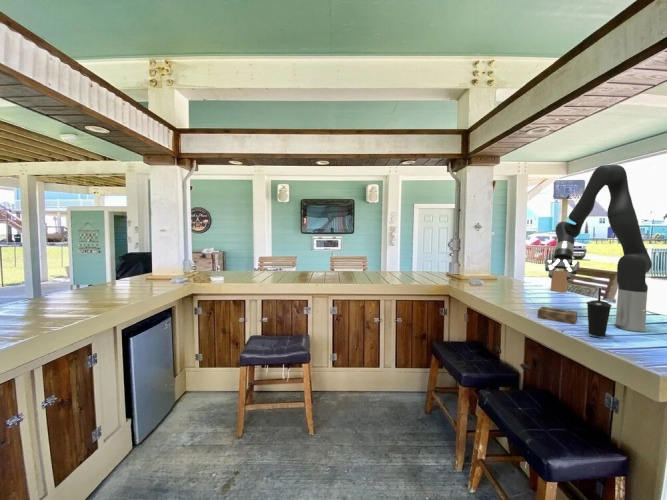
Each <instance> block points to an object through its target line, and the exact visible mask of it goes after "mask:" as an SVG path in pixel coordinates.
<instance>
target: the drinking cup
mask: <svg viewBox="0 0 667 500" xmlns="http://www.w3.org/2000/svg"><path fill="white" fill-rule="evenodd" d="M597 296H598V297H597V300H596V299H595V300H594V299H593V300H589V301H586V304H587V306H586V307H587V322H588V323H587V325H588V326H587V327H588V334H589V337H591V338H594V339H598V340H604V339H605V338H604V337H605V336H606V333H607V327H608V322H609V317H610V312H611V308H612V306H613V305H612V304H611V303H608V302H607V301H605V300H601V296H602V287H598V295H597Z"/></svg>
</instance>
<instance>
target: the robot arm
mask: <svg viewBox="0 0 667 500" xmlns="http://www.w3.org/2000/svg"><path fill="white" fill-rule="evenodd" d="M604 187H607V189H608V191H609V195H610V197H609V198H610V201H609V204H608V208H607V212H606V214H607V220H608V223H609V225H610V229H611V231H612V233H613V234H614V235H615V237H616V239H617V240H618V242H619V244H620V245H621V247H622V251H623V256H621V257H620V258H619V259H618V262H617V265H616V267H617V268H616V281H617V282H616V283H617V285H618V286H617V287H618V288H617V297H616V298H617V299H616V300H617V301H616V310H615V311H616V313H615V324H614V325H615V327H617V328H618V329H622V330H625V331H631V332H642V333H645V331H646V323H647V322H646V319H647V301H648V287H649V286H648V285H647V282H646V274H647V273H648V272H650V270H651V269H652V266H653V263H652V260H651V257H650V255H649V253H648V251H647V249H646V246H645V244H644V241H643V236H642V232H641V229H640V225H639V221H638V220H639V219H638V217H637V214H636V210H635V207H634V204H633V200H632V197H631V193H630V189H629V182H628V175H627V172H626V169H625V168H624V167H623V166H622V165H619V164H603V165H599V166H598V167H596V169H594V170H593V172H592V174H591V176H590V177H589V180H588V182H587V184H586V186H585V188H584V191H583V192H582V195H581V197H580V199H578V202H577V203H576V204H575V206H574V207H573V209H572V210H571V212H570V213H569V215H568V219H569V220H570V221H572V222H573V223H575V224H573V223H570V222H567V221H560V222H558V223H557V224H556V226H555V235H556V239H557V241H556V242H557V243H556V246H555V248H554V254H553V258H552V259H551V260H549V259H547V258H546V259H544V268H545V272H548V273H547V275H548V277H549V279H552V270H555V271H557V270H558V269H561V270H566V272H568V273H567V281H569V280H571V278H572V275H577V273H578V271H579V268H580V261H573V255H574V250H575V249H574V247H575V238H578V237H579V235H580V233H581V230H582V227H583V224H584V223H585V221H586V219H587V218H588V217H589V215H590V214H591V213H592V211H593V210H594V206H595V203H596V198H597V196H598V194H599V192H600V191H602V189H603V188H604ZM551 264H552V265H551ZM549 265H551V266H550V267H549ZM572 265H573V269H572V268H571V266H572Z"/></svg>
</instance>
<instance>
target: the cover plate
mask: <svg viewBox="0 0 667 500" xmlns="http://www.w3.org/2000/svg"><path fill="white" fill-rule="evenodd" d="M567 273H568V272H567V271H564V270H563V271H562V270H552V278H550V279H551V282H550V291H551V292H558V293H565V294H566V293H567V288H568V280H567Z"/></svg>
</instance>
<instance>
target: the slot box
mask: <svg viewBox="0 0 667 500" xmlns="http://www.w3.org/2000/svg"><path fill="white" fill-rule="evenodd" d="M537 319H541V320H547V321H552V322H559V323H564V324H570V325H576V322H577V321H578V311H576V310H575V311H574V310H570V309H568V310H567V309H563V308H555V307H550V306H549V307H548V306H543V305H542V306H540V307H539V308H538V309H537Z"/></svg>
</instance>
